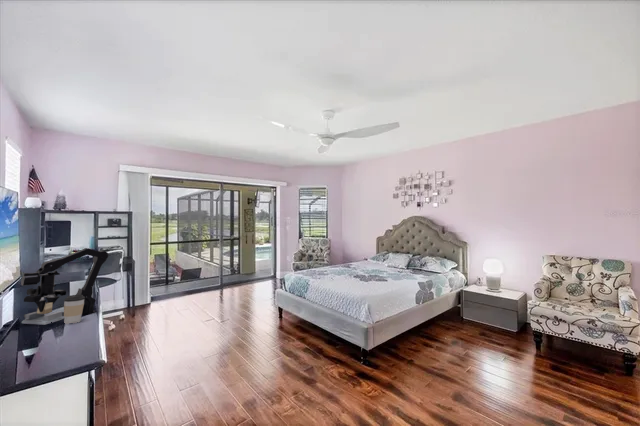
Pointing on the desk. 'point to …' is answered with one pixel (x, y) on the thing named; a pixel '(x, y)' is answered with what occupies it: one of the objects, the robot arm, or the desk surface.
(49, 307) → the maple block
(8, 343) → the desk surface
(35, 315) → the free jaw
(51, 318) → the vise bed
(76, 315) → the coffee cup
